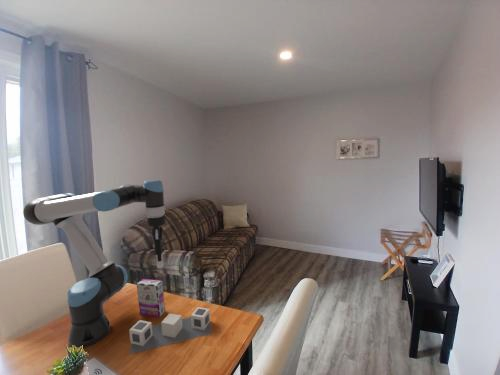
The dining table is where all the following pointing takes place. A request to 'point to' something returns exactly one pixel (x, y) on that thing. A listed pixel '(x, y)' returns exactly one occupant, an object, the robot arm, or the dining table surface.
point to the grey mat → (162, 340)
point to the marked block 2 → (200, 318)
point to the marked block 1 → (141, 332)
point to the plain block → (171, 325)
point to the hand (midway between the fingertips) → (160, 266)
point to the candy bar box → (151, 297)
